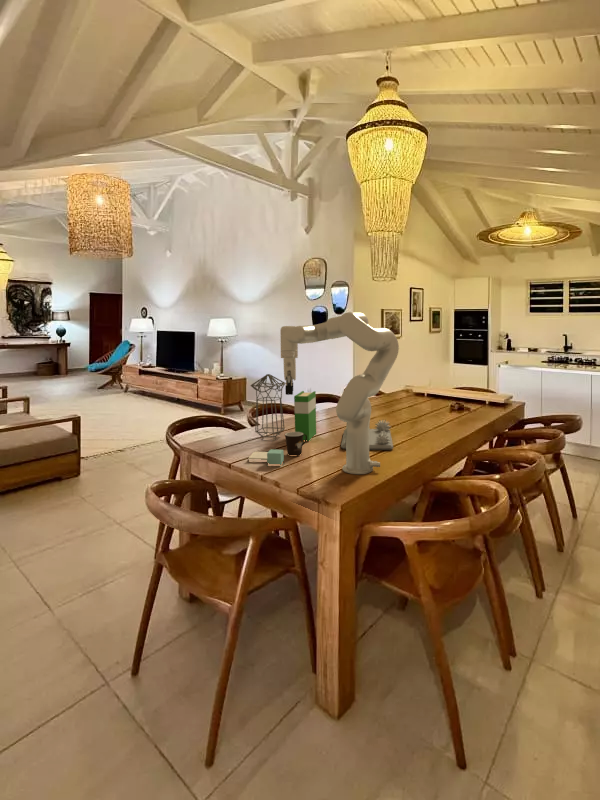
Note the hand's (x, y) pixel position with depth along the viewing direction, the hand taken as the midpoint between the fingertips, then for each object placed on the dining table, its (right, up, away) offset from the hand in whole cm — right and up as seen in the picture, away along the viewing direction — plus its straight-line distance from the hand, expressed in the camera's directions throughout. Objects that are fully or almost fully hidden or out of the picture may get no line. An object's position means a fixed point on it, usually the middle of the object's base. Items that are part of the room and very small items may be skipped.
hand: (289, 392), depth 203 cm
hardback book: (+8, -24, +42) cm, 49 cm away
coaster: (-13, -30, +5) cm, 33 cm away
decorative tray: (+40, -25, +32) cm, 57 cm away
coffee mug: (+4, -29, +11) cm, 31 cm away
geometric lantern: (-11, -24, +43) cm, 50 cm away
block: (-6, -32, -3) cm, 32 cm away
